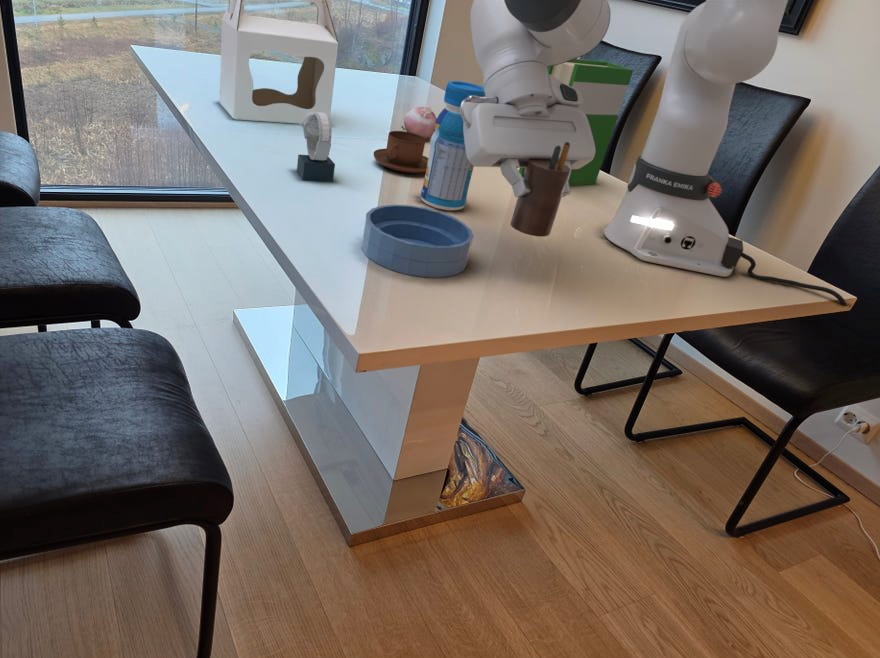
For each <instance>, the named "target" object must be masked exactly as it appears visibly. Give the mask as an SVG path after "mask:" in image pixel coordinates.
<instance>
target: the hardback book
mask: <svg viewBox="0 0 880 658" xmlns="http://www.w3.org/2000/svg"><path fill="white" fill-rule="evenodd" d="M547 70H548V74H550V75H552V76H554V77H555V78H557V79H558V80H559V81H561V82H563V83H564V84H566V85H568V86H570V87H572V88H575V89H577V90H578V91H579V92H580V93H581V95H582V99H583V103H582V104H581V105H580V106H579V107H578V108H580V109H581V110H582V111H583V112H584V113H585V115H586V117H587V119H588V122H589V125H590V128H591V132H592V136H593V140H594V144H595V150H596V152H595V156H594V158H593V160H592V161H590V162H589V163H588V164H586V165H584V166H583V167H581V168H579V169H571V173H570V177H569V180H568V183H569V187H571V186H584V185H585V186H586V185H595V184H596V183H597V180H598V177H599V174H600V171H601V168H602V165H603V162H604V159H605V156H606V153H607V150H608V147H609V145H610V142H611V139H612V135H613V133H614V130H615V126H616V123H617V121H618V118H619V115H620V112H621V108H622V106H623V103H624V99H625V96H626V95H627V91H628V88H629V85H630V82H631V79H632V76H633V73H634V69H632V68H628V67H625V66H621V65H619V64H615V63H612V62H609V61H605V60H604V61H603V60H596V59H595V60H594V59H585V58H584V59H583V58H577V59H574V60H571V61H568V62H565V63H562V64H559V65H555V66H550V67H547ZM518 171H519V172H520V174H521V175H522V177H523V178H524V175H525V171H526V168H518Z"/></svg>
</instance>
